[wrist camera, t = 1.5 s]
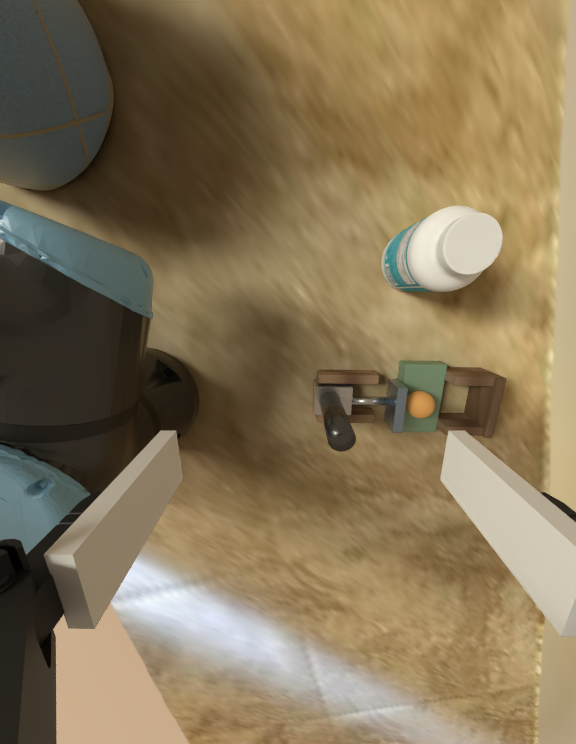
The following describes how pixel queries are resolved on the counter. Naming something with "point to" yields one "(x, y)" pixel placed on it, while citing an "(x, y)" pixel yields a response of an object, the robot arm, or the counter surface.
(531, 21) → the counter surface
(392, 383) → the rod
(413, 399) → the ball
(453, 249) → the pill bottle
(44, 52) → the planter
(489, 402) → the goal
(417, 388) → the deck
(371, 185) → the counter surface
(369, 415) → the guide
